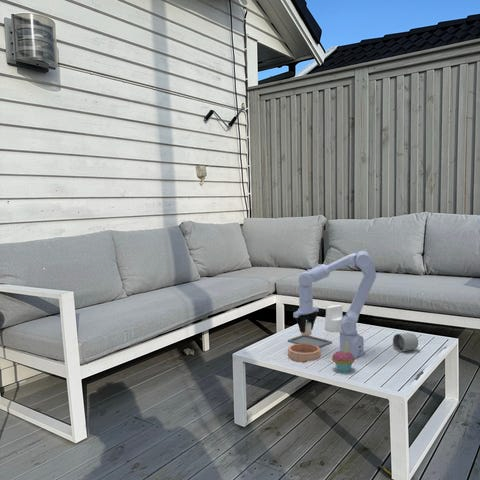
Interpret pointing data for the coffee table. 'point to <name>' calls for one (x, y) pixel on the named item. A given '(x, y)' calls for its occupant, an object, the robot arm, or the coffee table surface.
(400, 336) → the ceramic mug
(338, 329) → the grey white cylinder
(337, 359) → the cupcake
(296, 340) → the parts tray
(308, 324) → the smooth grey cylinder
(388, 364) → the coffee table surface
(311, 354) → the terracotta bowl
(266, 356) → the coffee table surface
